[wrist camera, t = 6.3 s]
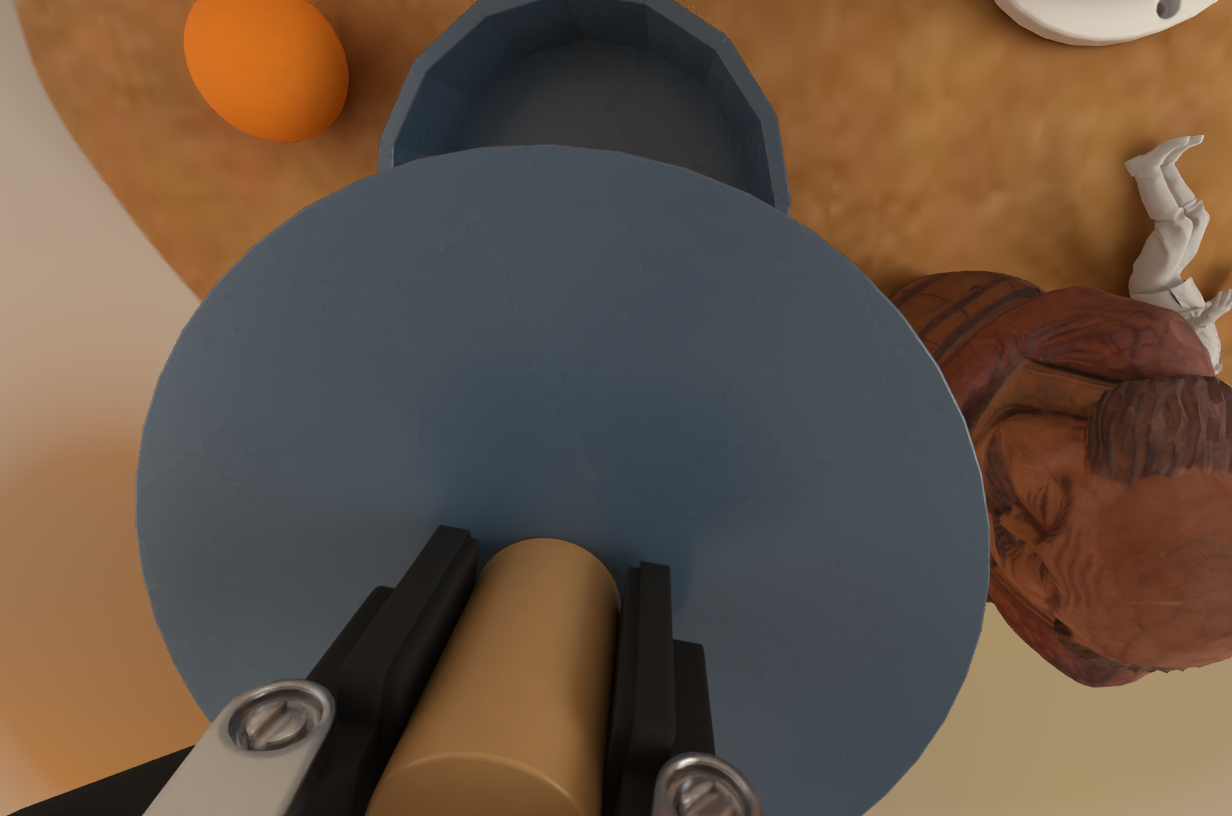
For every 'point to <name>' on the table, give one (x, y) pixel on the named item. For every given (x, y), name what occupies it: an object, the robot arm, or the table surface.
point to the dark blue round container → (591, 90)
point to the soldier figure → (1174, 243)
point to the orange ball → (267, 66)
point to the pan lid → (571, 475)
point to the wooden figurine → (1092, 469)
